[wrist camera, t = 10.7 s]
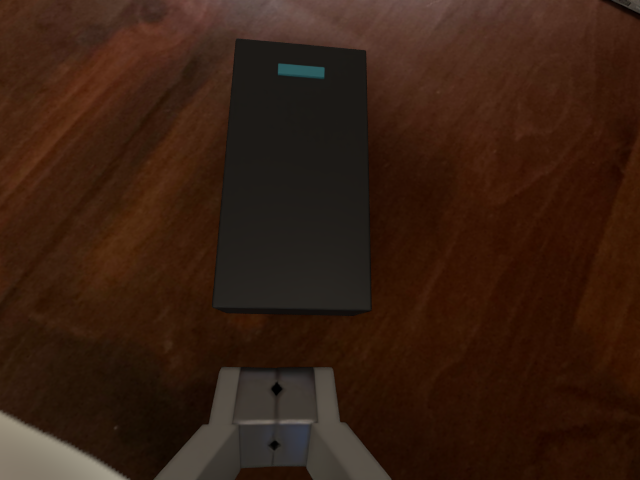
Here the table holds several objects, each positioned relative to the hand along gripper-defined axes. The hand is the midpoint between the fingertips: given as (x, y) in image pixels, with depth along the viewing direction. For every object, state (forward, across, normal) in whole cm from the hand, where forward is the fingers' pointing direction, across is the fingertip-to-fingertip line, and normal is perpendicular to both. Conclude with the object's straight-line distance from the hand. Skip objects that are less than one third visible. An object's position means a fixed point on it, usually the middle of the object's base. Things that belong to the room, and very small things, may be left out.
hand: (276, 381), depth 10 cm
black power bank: (+7, -1, +4) cm, 8 cm away
